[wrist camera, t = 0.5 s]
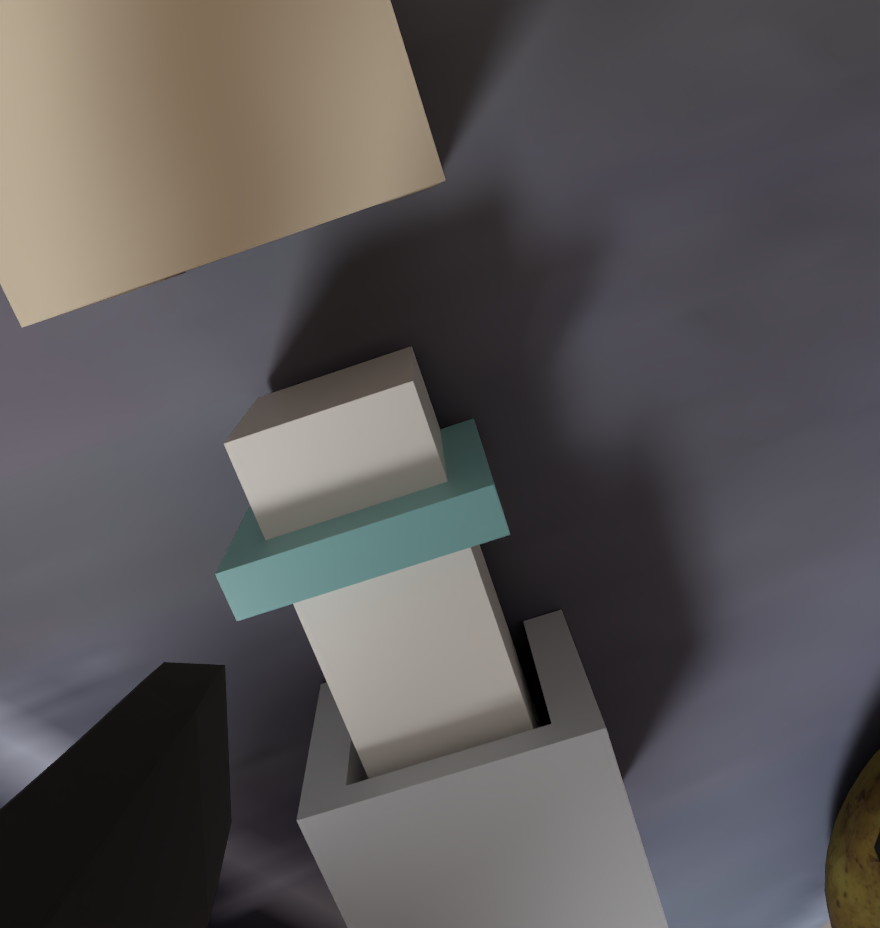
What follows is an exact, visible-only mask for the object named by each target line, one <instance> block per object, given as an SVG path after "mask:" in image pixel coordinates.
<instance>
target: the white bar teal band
mask: <svg viewBox="0 0 880 928" xmlns="http://www.w3.org/2000/svg"><path fill="white" fill-rule="evenodd" d="M224 446H225V448H226V450H227V453H228V455H229V457H230V459H231V462H232V464H233V466H234V469H235V471H236V473H237V476H238V478H239V480H240V483H241V485H242V487H243V489H244V492H245V494H246V496H247V499H248V501H249V503H250V507H249V509H248V511H247V513H246V515H245V517H244V519H243V520H242V522H241V524H240V526H239V528H238V530H237V532H236V534H235V536H234V538H233V540H232V542H231V544H230V546H229V548H228V550H227V552H226V554H225V556H224V558H223V560H222V562H221V563H220V565H219V567H218V569H217V571H216V573H215V575H216V577H217V579H218V582H219V584H220V586H221V588H222V590H223V592H224V595H225V597H226V599H227V601H228V603H229V605H230V608H231V610H232V612H233V614H234V616H235V618H236V621H240V620H243V619H246V618H249V617H252V616H256V615H259V614H262V613H265V612H268V611H271V610H274V609H278V608H281V607H284V606H287V605H290V604H293V605H294V607H295V610H296V612H297V614H298V617H299V619H300V621H301V623H302V626H303V628H304V630H305V633H306V635H307V637H308V640H309V642H310V644H311V647H312V649H313V651H314V653H315V656H316V658H317V660H318V663H319V665H320V667H321V670H322V672H323V674H324V677H325V679H326V681H327V683H328V686H329V688H330V690H331V693H332V695H333V697H334V700H335V702H336V704H337V707H338V709H339V711H340V714H341V716H342V718H343V720H344V723H345V725H346V727H347V730H348V732H349V734H350V737H351V739H352V741H353V744H354V746H355V748H356V750H357V753H358V755H359V757H360V760H361V762H362V764H363V767H364V769H365V771H366V774H367V776H368V778H369V779H370V778H373V777H377V776H380V775H383V774H387V773H390V772H393V771H397V770H400V769H403V768H407V767H410V766H413V765H417V764H420V763H423V762H426V761H430V760H433V759H436V758H440V757H443V756H446V755H450V754H453V753H456V752H460V751H463V750H466V749H470V748H473V747H476V746H480V745H483V744H486V743H489V742H493V741H496V740H499V739H503V738H506V737H509V736H513V735H516V734H519V733H523V732H526V731H529V730H533V729H536V728H539V727H542V726H541V723H540V720H539V717H538V714H537V712H536V709H535V706H534V703H533V700H532V697H531V694H530V691H529V688H528V685H527V682H526V679H525V676H524V673H523V671H522V668H521V665H520V662H519V659H518V656H517V653H516V650H515V647H514V644H513V641H512V638H511V635H510V632H509V630H508V627H507V624H506V621H505V618H504V615H503V612H502V609H501V606H500V603H499V600H498V597H497V594H496V591H495V589H494V586H493V583H492V580H491V577H490V574H489V571H488V568H487V565H486V562H485V559H484V556H483V553H482V550H481V548H480V545H479V544H482V543H486V542H489V541H492V540H495V539H498V538H501V537H505V536H508V535H510V532H509V529H508V525H507V522H506V519H505V516H504V512H503V509H502V506H501V503H500V500H499V496H498V493H497V490H496V487H495V483H494V480H493V477H492V474H491V471H490V467H489V464H488V461H487V458H486V455H485V452H484V448H483V445H482V442H481V439H480V436H479V433H478V430H477V427H476V424H475V421H474V418H473V419H470V420H467V421H464V422H461V423H458V424H455V425H452V426H449V427H446V428H443V429H440V427H439V425H438V422H437V419H436V416H435V413H434V410H433V407H432V404H431V401H430V398H429V395H428V392H427V389H426V386H425V384H424V381H423V378H422V375H421V372H420V369H419V366H418V363H417V360H416V357H415V354H414V351H413V348H412V346H411V347H408V348H405V349H402V350H399V351H396V352H393V353H390V354H387V355H384V356H381V357H378V358H375V359H372V360H369V361H366V362H363V363H360V364H357V365H354V366H351V367H348V368H345V369H342V370H339V371H336V372H333V373H330V374H327V375H324V376H321V377H318V378H315V379H312V380H309V381H306V382H303V383H300V384H297V385H294V386H291V387H288V388H285V389H282V390H279V391H276V392H273V393H270V394H267V395H264V396H261V397H258V399H257V400H256V401H255V403H254V404H253V405H252V407H251V408H250V409H249V411H248V412H247V413H246V415H245V416H244V417H243V419H242V420H241V421H240V423H239V424H238V425H237V427H236V428H235V429H234V431H233V432H232V433H231V435H230V436H229V437H228V439H227V440H226V441H225V443H224Z"/></svg>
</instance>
